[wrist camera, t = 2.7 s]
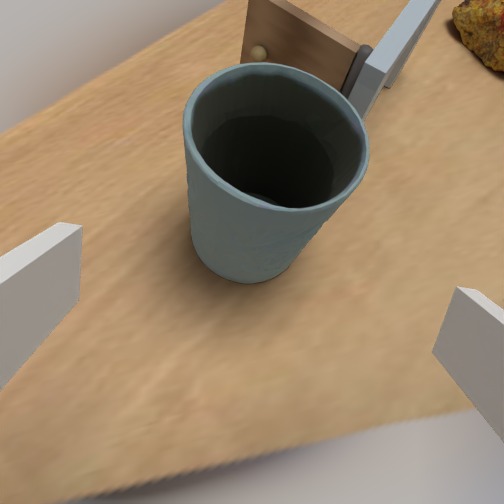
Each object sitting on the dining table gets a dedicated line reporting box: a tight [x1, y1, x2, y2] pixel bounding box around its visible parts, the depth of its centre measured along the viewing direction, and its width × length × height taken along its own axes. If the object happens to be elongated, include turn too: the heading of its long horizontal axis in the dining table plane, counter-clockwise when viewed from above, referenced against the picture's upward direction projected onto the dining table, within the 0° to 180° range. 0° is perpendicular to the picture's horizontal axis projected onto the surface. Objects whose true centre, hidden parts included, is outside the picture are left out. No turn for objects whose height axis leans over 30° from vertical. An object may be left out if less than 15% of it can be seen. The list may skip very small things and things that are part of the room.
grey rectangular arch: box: [348, 0, 441, 122], centre depth 34 cm, size 18×2×12 cm, turn 149°
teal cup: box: [183, 62, 369, 283], centre depth 27 cm, size 10×10×12 cm
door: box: [240, 0, 373, 100], centre depth 34 cm, size 10×2×9 cm, turn 54°
